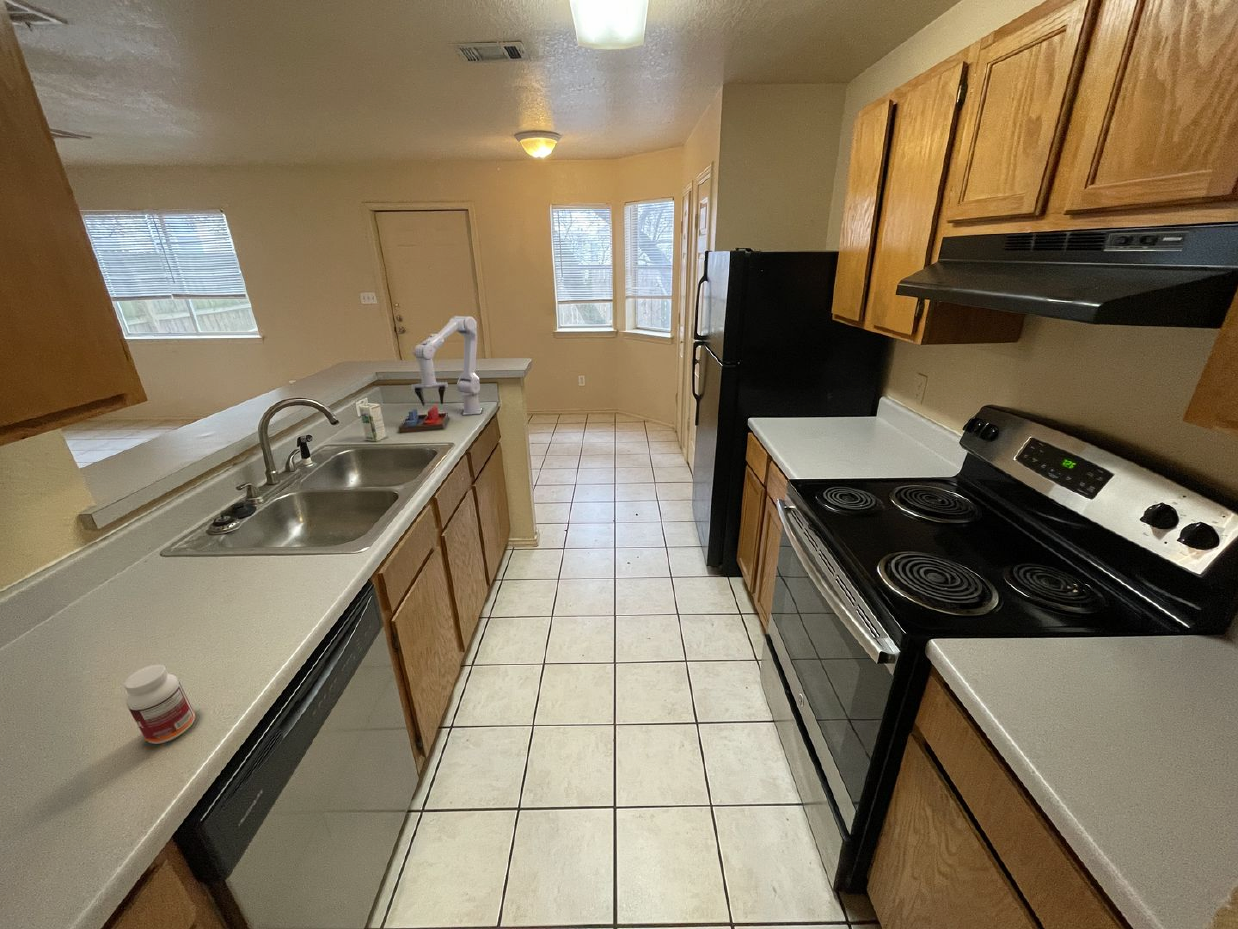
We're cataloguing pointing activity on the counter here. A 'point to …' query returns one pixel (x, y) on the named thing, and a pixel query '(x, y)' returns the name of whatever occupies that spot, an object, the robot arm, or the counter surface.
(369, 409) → the syrup box
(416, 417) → the blue spoon
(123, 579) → the counter surface
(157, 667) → the pill bottle
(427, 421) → the red spoon
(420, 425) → the sorting tray
